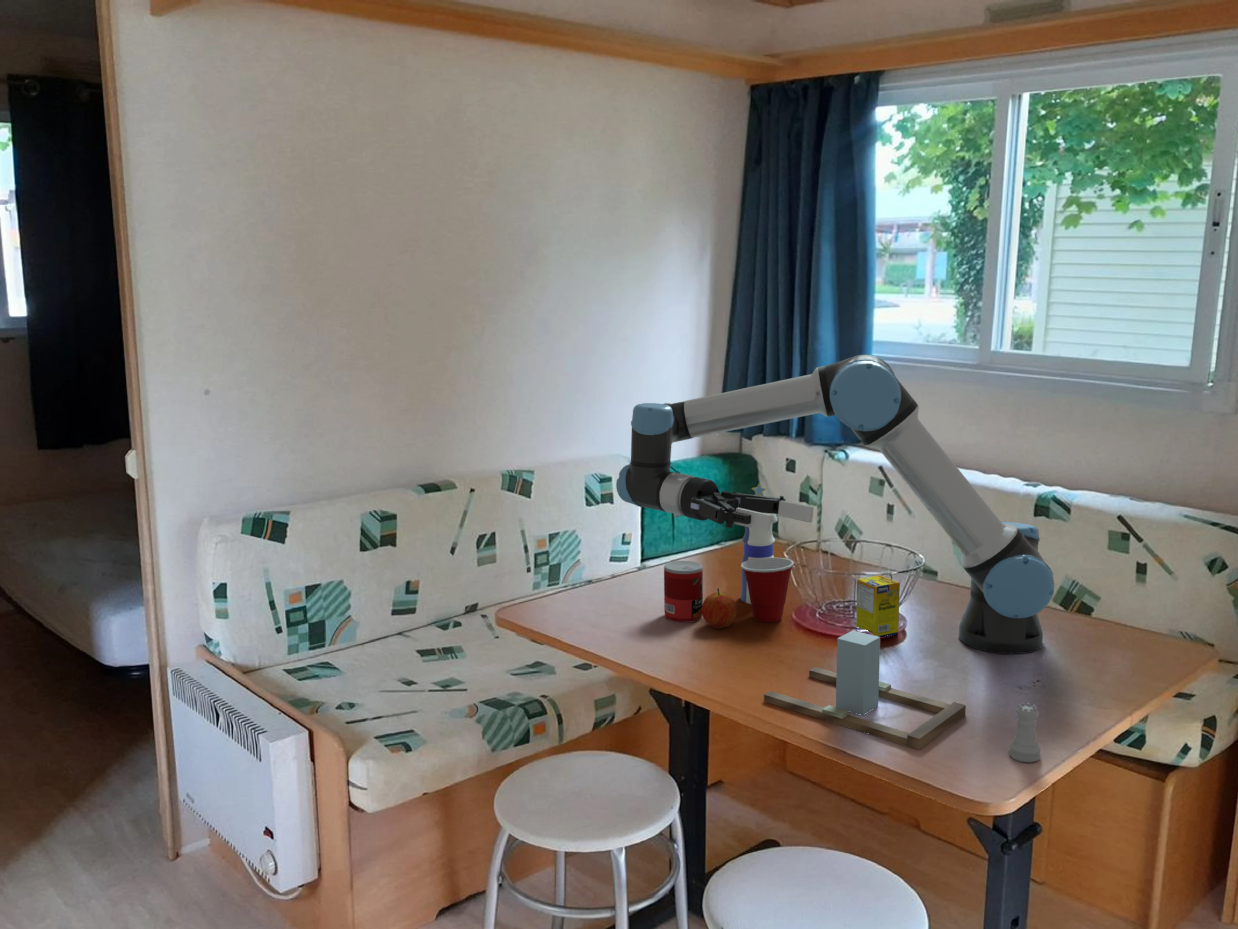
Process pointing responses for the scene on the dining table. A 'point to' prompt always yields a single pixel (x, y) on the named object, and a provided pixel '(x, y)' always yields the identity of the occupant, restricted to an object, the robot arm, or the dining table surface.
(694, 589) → the canned food
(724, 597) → the fruit
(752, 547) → the water bottle
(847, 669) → the blue-grey tall rectangular block
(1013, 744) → the rook chess piece
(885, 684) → the brown u-shaped frame
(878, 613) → the supplement box
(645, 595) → the dining table surface
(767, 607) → the plastic cup
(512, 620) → the dining table surface
